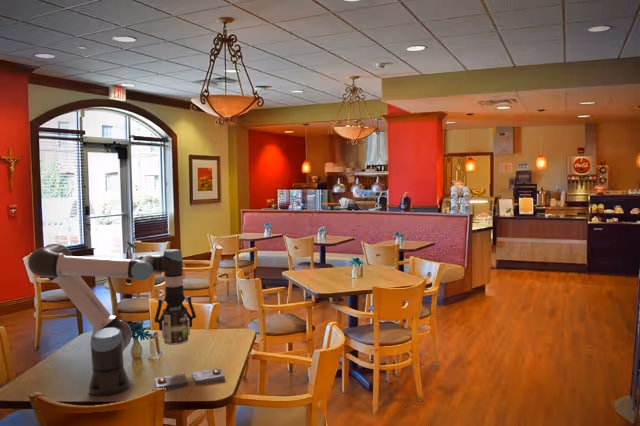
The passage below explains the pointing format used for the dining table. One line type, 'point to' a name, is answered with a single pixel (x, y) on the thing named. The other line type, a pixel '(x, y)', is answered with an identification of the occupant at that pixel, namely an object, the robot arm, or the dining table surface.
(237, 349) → the dining table surface
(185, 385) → the left end plate
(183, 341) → the coffee can
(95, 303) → the robot arm
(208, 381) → the right end plate
